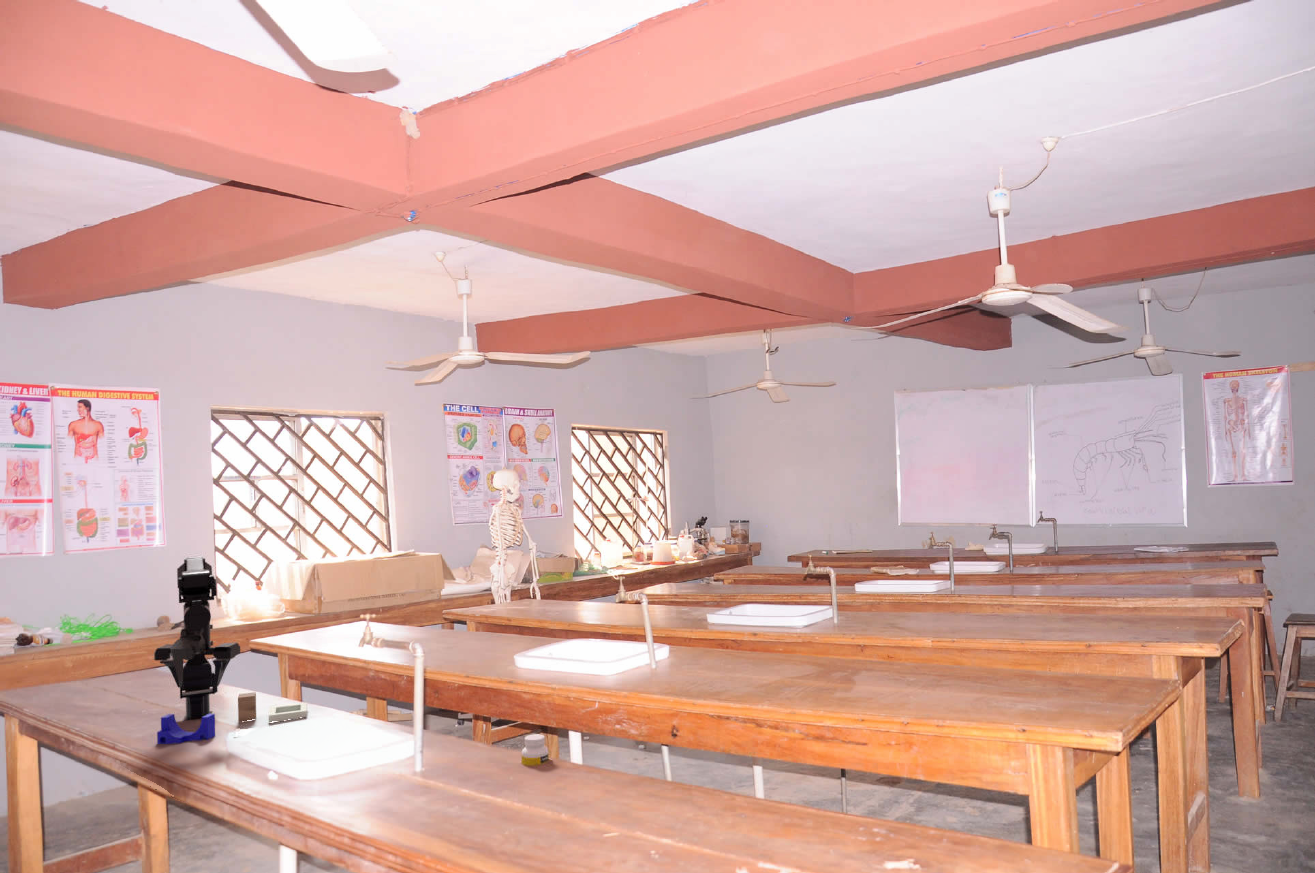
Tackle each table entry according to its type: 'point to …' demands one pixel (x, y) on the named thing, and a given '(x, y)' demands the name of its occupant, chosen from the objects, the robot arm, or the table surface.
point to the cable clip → (177, 735)
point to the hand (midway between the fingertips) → (198, 686)
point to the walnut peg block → (246, 706)
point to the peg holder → (287, 712)
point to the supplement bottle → (534, 750)
